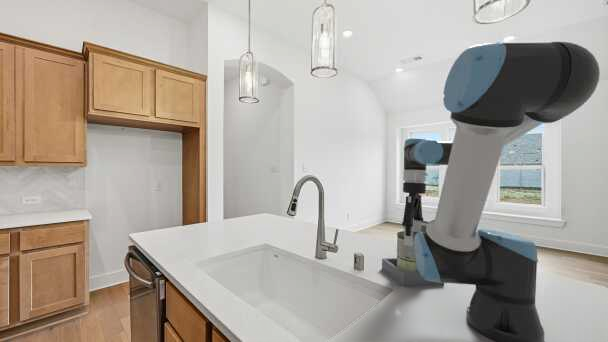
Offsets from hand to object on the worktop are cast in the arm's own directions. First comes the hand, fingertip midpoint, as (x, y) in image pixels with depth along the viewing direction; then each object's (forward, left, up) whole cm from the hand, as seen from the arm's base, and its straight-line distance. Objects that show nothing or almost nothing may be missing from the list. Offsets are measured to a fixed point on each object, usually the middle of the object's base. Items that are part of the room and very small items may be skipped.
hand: (412, 241), depth 95 cm
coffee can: (0, 0, -12) cm, 12 cm away
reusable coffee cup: (+20, -16, -13) cm, 29 cm away
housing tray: (0, 0, -13) cm, 13 cm away
